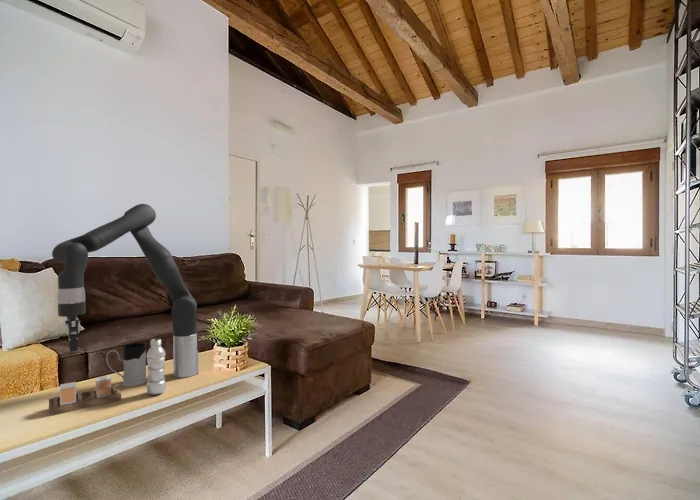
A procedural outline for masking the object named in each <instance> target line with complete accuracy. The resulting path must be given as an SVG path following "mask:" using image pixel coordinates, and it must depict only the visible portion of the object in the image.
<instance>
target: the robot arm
mask: <svg viewBox="0 0 700 500" xmlns="http://www.w3.org/2000/svg"><path fill="white" fill-rule="evenodd" d="M156 218H157V213H156V210H155V209H154V208H153V207H152V206H151V205H149V204H147V203H138V204H136V205H134V206H132V207H131V208H129V209H127V210H126V211H125V212H124V214H123V215H122V216H120V217H119V218H116V219H114V220H112V221H110V222H107V223H105V224H103V225H100V226H98V227H96V228H94V229H92V230H89V231H88V232H86V233H84V234H82V235H80V236H77V237H73V238H70V239H67V240H64V241H62V242H60V243H58V244H57V245H55V246H54V248H53V249H52V252H51V256H52V258H53V259H54V260H55V261H56V263H57V262H58V263H61V264H65V267H64V269H63V270H62V271H60V272H59V273H58V275H57V287H58V288H57V289H58V290H57V315H58V317H61V318H64V317H66V320H65V321H64V326H65V331H66V335H67V337H68V340H67V343H68V347H69V352H76V351H79V341H78V340H79V339H80V336H79V334H80V330H81V328H80V326H81V320H80V319H79V318H78V316H81V315H85V314H86V313H87V312H86V311H87V309H86V308H87V307H86V292H85V291H86V289H85V280H84V279H85V277H84V276H85V275H84V274H85V272H86V268H87V264H88V260H89V253H94V252H96V251H99V250H101V249H103V248H104V247H106V246H108V245H110V244H111V243H114V242H115V241H117V240H118V239H120V238H121V237H123V236H125V235H126V234H127V233H130V234H131V235H132V236H133V238H134V239H135V241H136V243H137V245H138V246H139V248H140V250H141V251H142V253H143V255H144V257H145V259H146V261H147V262H148V265H149V267H150V268H151V270H152V273H153V274H154V276H155V278H156V279H157V280H158V282H160V283H161V285H162V286H163V287H164V289H165V290H166V292H167V294H168V295H169V297H170V300H171V302H172V308H171V310H172V311H171V313H172V315H171V319H172V336H173V337H172V338H173V340H172V342H173V348H172V349H173V350H172V354H173V363H172V364H173V377H174V378H178V379H179V378H190V377H194V376H195V375H197V374H199V372H200V371H199V362H200V361H199V350H198V334H197V333H198V331H197V330H198V329H197V328H198V327H197V310H198V309H197V308H198V307H197V306H198V304H197V302H196V300H195V298H194V297H193V295H192V294H191V292H190V291H189V289H188V287H187V286H186V284H185V282H184V280H183V278H182V274H181V272H180V270H179V268H178V265H177V264H176V261H175V259H174V257H173V255H172V254H171V252H170V251H169V250H168V249H167V248H166V247H165V246H164V245H163V244H162V243H160V242H159V241H158V240H156V238H155V237H154V236H153V234H152V233H151V230H150V228H149V226H150V225H152V224H153V223H154V222H155V221H156Z"/></svg>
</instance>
